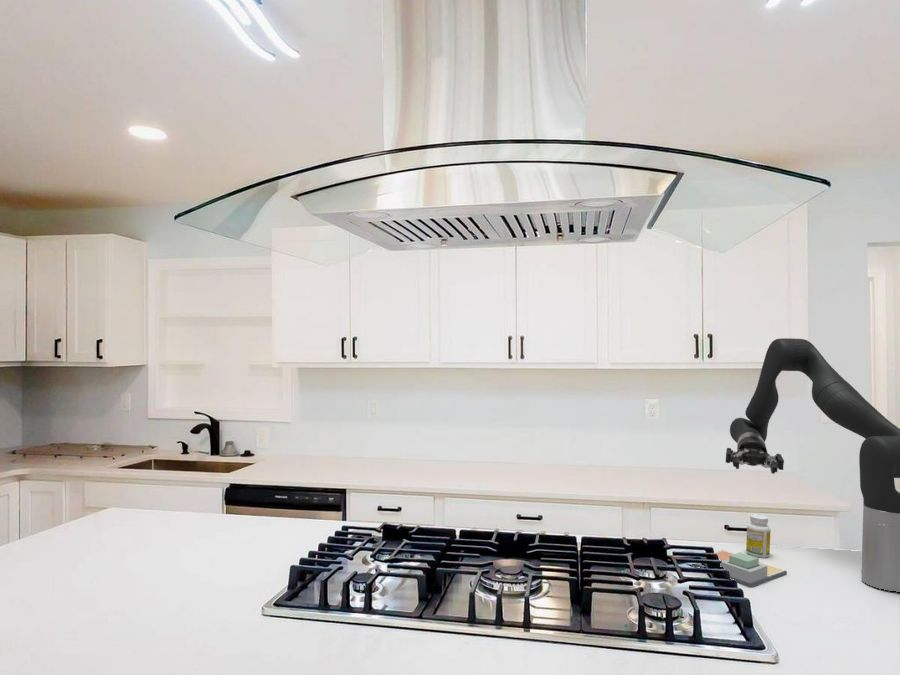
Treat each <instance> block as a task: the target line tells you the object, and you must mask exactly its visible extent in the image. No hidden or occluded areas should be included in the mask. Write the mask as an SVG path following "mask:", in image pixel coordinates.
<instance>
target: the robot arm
mask: <svg viewBox="0 0 900 675" xmlns="http://www.w3.org/2000/svg"><path fill="white" fill-rule="evenodd" d="M781 372H800V373H803V374H805V376H806V377H807V378H809V380H810V381H811V382H812V385H811V397H812V400H813V402H814V403H815V405H816V406H817V407H818V408H819V410H821V411H822V413H823V414H824V415H825V416H826V417H827V418H829V420H831V421H832V422H833V423H835V424H837V425H839V426H840V427H842V428H844V429H846V430H848V431H850V432H852V433H855V434H856V435H858V436H859V437H861V438H864V440H863V442H862V443H861V445H860V448H859V449H860V450H859V456H858V459H859V460H858V461H859V462H858V463H859V486H860V492H861V494H862V499H863V500H862V502H863V505H862V509H863V510H862V536H861V537H862V542H861V544H862V545H861V547H862V548H861V549H862V550H861V569H860V570H861V571H860V572H861V573H860V574H861V579H862V580H861V581H862V583H864V584H865V583H866V584H865V585H867V584H868V585H867V586H869V585H870V587H872V586H873V587H872V588H874V587H876V588H875V589H877V588H879V590H881V589H884V590H883V591H885V590H889V591H888V592H890V591H896V592H895V593H897V592H900V492H899V491H898V490H897V488H896V483H895V479H900V428H899V427H898V426H897V425H895V424H894V423H893V422H892V421H890V420H888V418H886V416H884V415H883V414H882V413H881V412H879V410H877V408H875V407H874V406H873V405H872V404H871V403H870V402H869V401H868V400H867V399H865V397H864V396H863V395H861V393H860V392H859V391H857V389H855V388H854V387H853V386H852V384H850V383H849V382H848V381H847V380H845V379H844V378H843V377H842V376H841V375H840V373H838V372H837V371H836V370H835V368H834V367H832V365H831V364H830V363H829V362H828V361H827V360H826V359H825V358H824V356H823V355H822V353H821V352H820V350H818V349H817V348H816V347H815V345H814V344H813V342H811V341H809V340H807V339H804V338H792V337H791V338H783V337H782V338H775V339H774V340H773V341H772V342H771V343H770V344H769V346H768V348H767V350H766V353H765V355H764V359H763V363H762V366H761V370H760V374H759V378H758V382H757V385H756V388H755V390H754V393H753V394H752V397H751V398H750V400H749V403H748V405H747V407H746V408H745V416H746V418H745V417H737V418H735V419H733V420H732V422H731V423H730V424H729V425H730V426H729V434H730V437H731V439H732V440H733V441H734V442H735V443H736V445H737V446H736V451H734V449H732V448H731V447H727V448H726V449H725V450H726V452H725V463H726V464H731V463H732V466H733V467H734V468H735V469H736V470H739V469H740V465H741V466H744V465H747V466H752V467H753V466H754V467H755V466H760V467H763V468H765V469H770V473H771V474H774V475H775V473H778V470H780V471H783V470H784V467H785V466H784V464H785V460H784V457H782V454H780V453H776V454H775V455H771V454H769V453H768V449H767V445H766V441H767V437H768V429H769V428H768V427H769V423H770V421H771V420H770V419H771V418H772V416H773V414H774V412H775V410H776V409H777V406H778V403H779V397H780V396H779V393H778V388H777V385H776V384H777V383H776V382H777V378H778V376H779V375H780V374H781Z"/></svg>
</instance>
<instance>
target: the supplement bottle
mask: <svg viewBox="0 0 900 675" xmlns="http://www.w3.org/2000/svg"><path fill="white" fill-rule="evenodd" d="M749 519H750V520H749V521H750V522H749V523H747V525H746V545H745V546H746V547H745V548H746V549H745V550H746V554H747V555H750V556H754V557H757V558H759V559H761V558H769V556H770V554H771V553H770V552H771V527H770V526H769V525H768V523H769V518H768V517H767V516H766V515H761V514H755V513H753V514H750V516H749Z"/></svg>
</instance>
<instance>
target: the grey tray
mask: <svg viewBox="0 0 900 675" xmlns="http://www.w3.org/2000/svg"><path fill="white" fill-rule="evenodd" d="M714 553H716V554H717V555H718V557H719V559H720V560H721V561H722V562H721V563H720V567H723V568H724V569H725V570H727V571H729V573H730V578H731V579H734V580H736V581H737V582H736V583H737V584H740V585H743V586H746V587H749V588H754V587H756V586H760V585H762V584H765V583H767V582H770V581H774V580H775V579H779V578H781V577H784V576H786V575H788V574H787V573H788V571H787V570H785V569H781V568H779V567H776V566H773V565H769V564H766V563H763V562H759V566H758V567H755V568H752V569H749V570H748V569H745V568H742V567H739V566H736V565H733V564H730V563H729V556H730V555H733V554H734V553H732V552H729V551H727V550H718V551H715V552H714ZM693 566H694V567H693ZM691 567H693V568H696V567H700V568H704V567H705V566H704V565H702V564H692V566H691Z"/></svg>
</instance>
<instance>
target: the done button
mask: <svg viewBox="0 0 900 675" xmlns="http://www.w3.org/2000/svg"><path fill="white" fill-rule="evenodd" d="M759 560H760V557H754V556H751V555H749V554H748V553H743V552H740V551H739V552H736V553H733V555H730V556H729V563H730V564H733V565H736V566H739V567H742V568H745V569H748V570H749V569H752V568H755V567H758V566H759Z"/></svg>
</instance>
